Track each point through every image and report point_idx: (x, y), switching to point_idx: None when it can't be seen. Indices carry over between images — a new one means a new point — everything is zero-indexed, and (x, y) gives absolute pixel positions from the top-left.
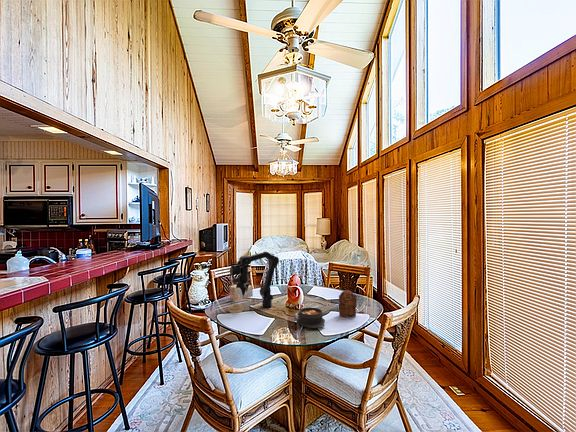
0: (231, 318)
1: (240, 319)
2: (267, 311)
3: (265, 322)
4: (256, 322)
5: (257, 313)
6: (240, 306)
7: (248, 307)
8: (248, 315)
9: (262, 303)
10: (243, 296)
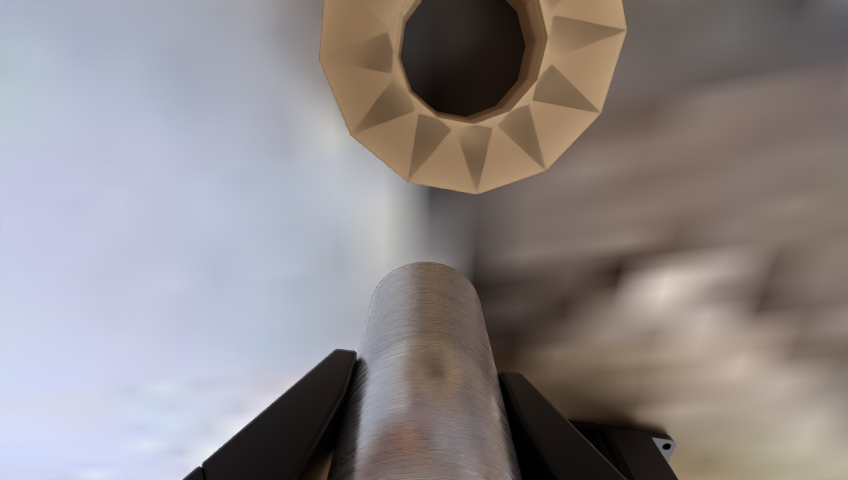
0: (71, 53)
1: (68, 204)
2: None
3: (58, 475)
4: (28, 398)
5: None
6: (434, 157)
7: (613, 242)
8: (248, 287)
9: (619, 456)
10: (361, 340)
